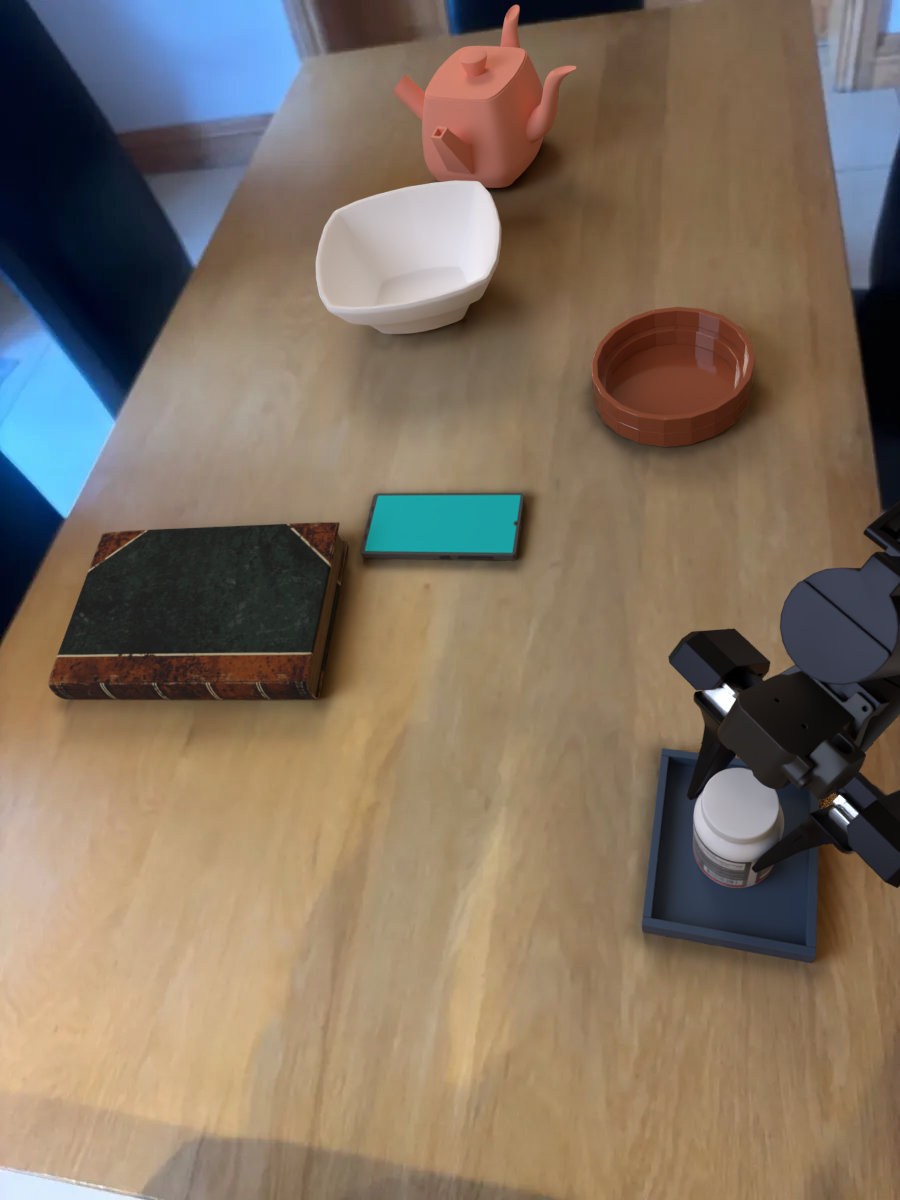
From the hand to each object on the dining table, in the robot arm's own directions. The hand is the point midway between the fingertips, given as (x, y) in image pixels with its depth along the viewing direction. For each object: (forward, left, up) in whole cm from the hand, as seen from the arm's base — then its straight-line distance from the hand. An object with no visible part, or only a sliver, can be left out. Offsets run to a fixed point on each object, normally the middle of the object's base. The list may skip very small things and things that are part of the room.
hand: (722, 832), depth 60 cm
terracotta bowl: (-28, -38, -7) cm, 48 cm away
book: (+22, -45, -7) cm, 50 cm away
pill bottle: (-1, 0, -6) cm, 7 cm away
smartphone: (-1, -39, -7) cm, 40 cm away
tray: (-1, 0, -7) cm, 7 cm away
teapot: (-39, -85, -7) cm, 94 cm away
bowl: (-17, -68, -7) cm, 71 cm away
